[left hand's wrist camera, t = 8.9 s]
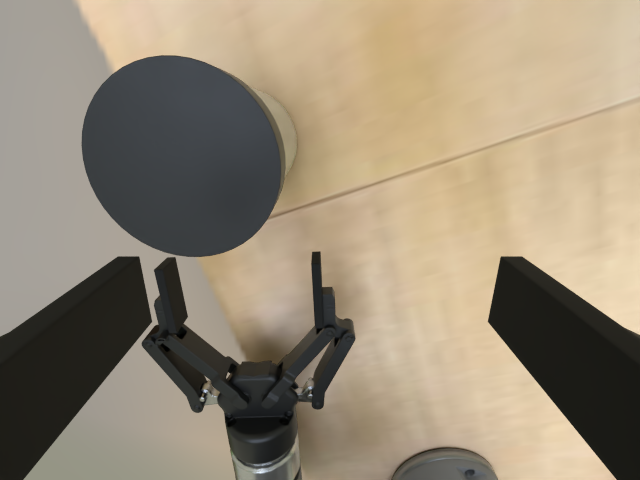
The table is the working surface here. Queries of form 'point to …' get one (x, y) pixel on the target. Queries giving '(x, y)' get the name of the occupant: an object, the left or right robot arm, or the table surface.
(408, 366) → the table surface
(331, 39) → the table surface
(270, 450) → the right robot arm
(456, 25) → the table surface
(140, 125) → the lid
